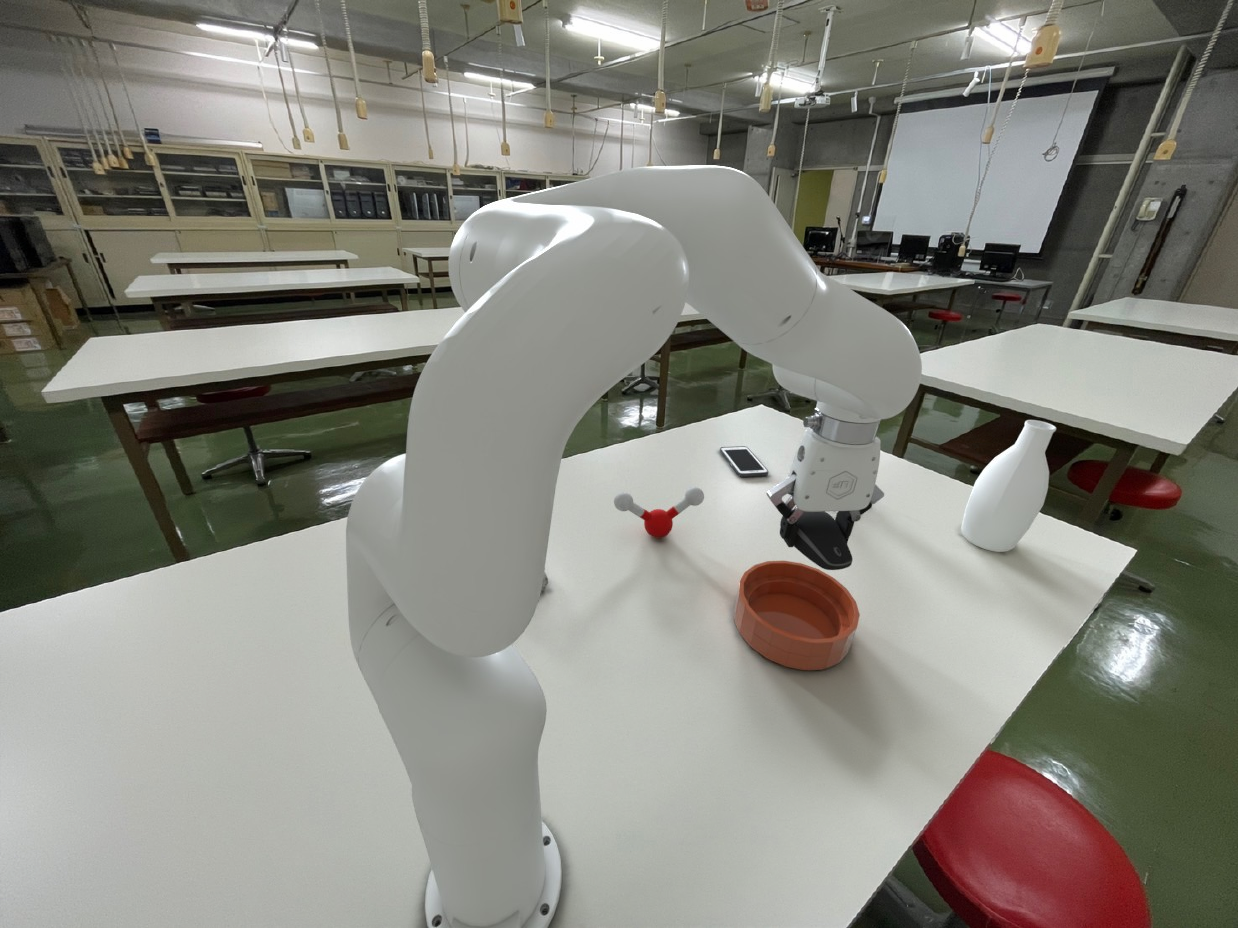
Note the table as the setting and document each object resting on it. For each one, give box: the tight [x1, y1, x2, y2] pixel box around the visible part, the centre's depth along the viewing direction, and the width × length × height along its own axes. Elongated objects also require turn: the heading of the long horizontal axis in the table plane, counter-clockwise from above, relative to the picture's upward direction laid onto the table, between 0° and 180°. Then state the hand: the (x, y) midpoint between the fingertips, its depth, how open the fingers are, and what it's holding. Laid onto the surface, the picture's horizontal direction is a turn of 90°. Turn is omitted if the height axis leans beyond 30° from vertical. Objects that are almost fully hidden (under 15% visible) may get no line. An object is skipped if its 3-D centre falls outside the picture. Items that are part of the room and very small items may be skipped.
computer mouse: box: [779, 509, 853, 571], centre depth 70 cm, size 7×12×4 cm, turn 15°
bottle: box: [960, 419, 1057, 553], centre depth 95 cm, size 11×11×25 cm
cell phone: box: [719, 445, 769, 478], centre depth 126 cm, size 8×15×1 cm, turn 10°
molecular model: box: [613, 486, 705, 539], centre depth 96 cm, size 18×6×10 cm, turn 107°
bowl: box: [733, 560, 861, 671], centre depth 77 cm, size 17×17×6 cm
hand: (813, 539), depth 70 cm, fingers closed on computer mouse, 7 cm apart
